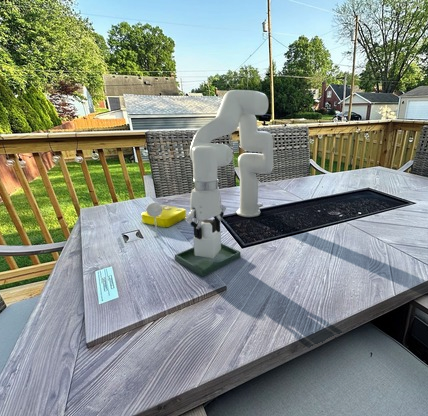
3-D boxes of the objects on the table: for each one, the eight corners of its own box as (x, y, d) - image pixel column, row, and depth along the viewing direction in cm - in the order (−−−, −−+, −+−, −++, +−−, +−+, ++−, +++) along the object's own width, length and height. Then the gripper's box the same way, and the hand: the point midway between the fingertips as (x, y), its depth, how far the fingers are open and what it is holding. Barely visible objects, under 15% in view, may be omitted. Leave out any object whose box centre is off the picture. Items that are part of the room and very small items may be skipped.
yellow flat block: (140, 222, 121) (139, 212, 119) (163, 212, 134) (162, 203, 132) (166, 228, 116) (165, 218, 114) (187, 217, 129) (187, 208, 128)
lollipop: (168, 235, 110) (165, 201, 105) (158, 241, 104) (154, 205, 99) (156, 232, 112) (152, 199, 107) (145, 238, 106) (141, 203, 101)
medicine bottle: (203, 246, 97) (202, 216, 93) (221, 249, 96) (220, 218, 92) (194, 255, 91) (192, 223, 87) (213, 258, 89) (212, 226, 85)
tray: (213, 243, 105) (213, 238, 104) (240, 256, 96) (240, 251, 95) (175, 260, 92) (174, 254, 91) (202, 277, 83) (202, 271, 82)
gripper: (218, 178, 94) (219, 224, 99) (175, 187, 80) (179, 239, 86) (233, 182, 89) (233, 229, 95) (190, 192, 76) (193, 246, 82)
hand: (207, 233), depth 91 cm, fingers closed on medicine bottle, 7 cm apart
